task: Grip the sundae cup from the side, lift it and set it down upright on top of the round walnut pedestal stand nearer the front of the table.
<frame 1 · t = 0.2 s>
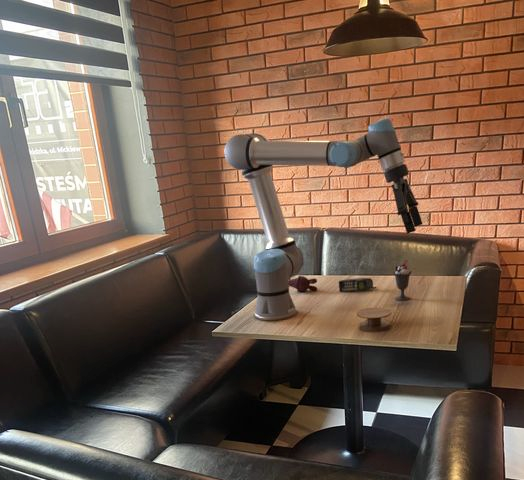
hand: (415, 228, 180), 28 cm above the table, tool tilted 20°, fingers open, 13 cm apart
sundae: (402, 299, 202), on the table
chocolate bunny: (301, 291, 228), on the table
mobile phone: (357, 290, 219), on the table
stand: (374, 327, 175), on the table
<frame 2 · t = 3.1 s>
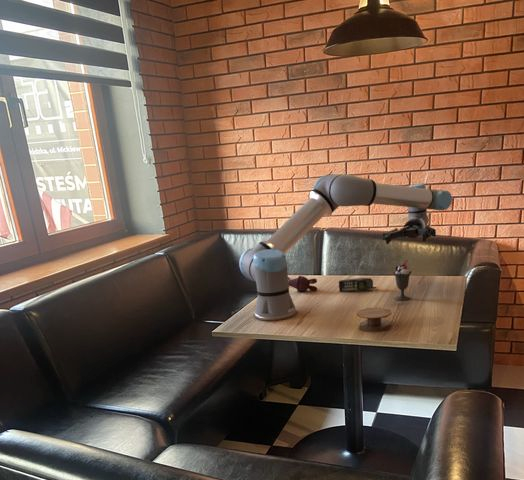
hand: (405, 239, 201), 21 cm above the table, tool horizontal, fingers open, 13 cm apart
nothing on the table moved.
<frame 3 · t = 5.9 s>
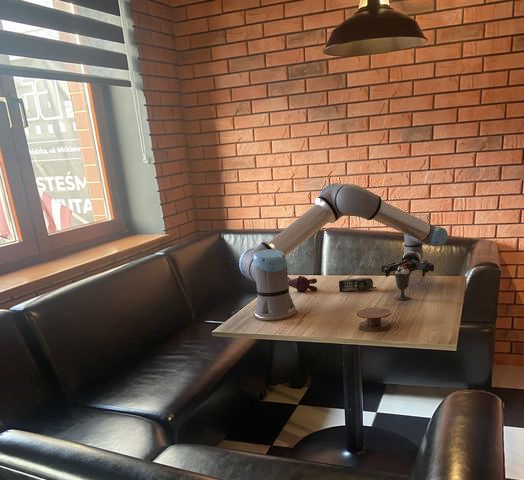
hand: (404, 273, 205), 8 cm above the table, tool horizontal, fingers open, 13 cm apart
nothing on the table moved.
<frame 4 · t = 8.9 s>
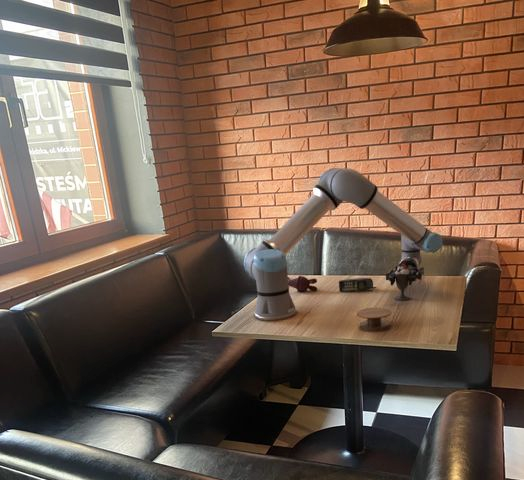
hand: (400, 281, 194), 8 cm above the table, tool horizontal, fingers closed on sundae, 6 cm apart
sundae: (402, 299, 202), on the table, touching gripper
everything else where it was.
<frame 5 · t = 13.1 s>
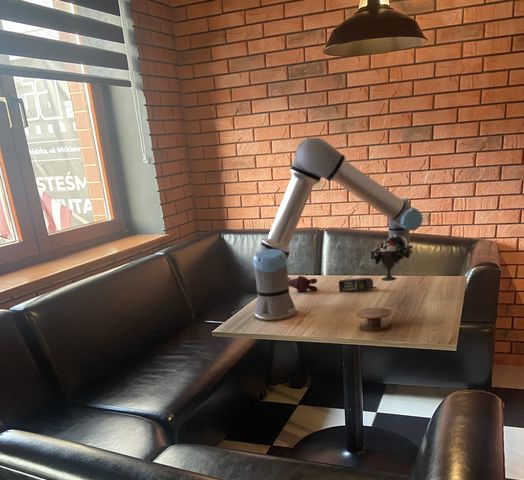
hand: (386, 259, 177), 20 cm above the table, tool horizontal, fingers closed on sundae, 6 cm apart
sundae: (389, 279, 184), point 12 cm above the table, touching gripper
everything else where it was.
when the fingers open (13 cm above the table, at t = 17.5 s): sundae stays where it is, resting on stand.
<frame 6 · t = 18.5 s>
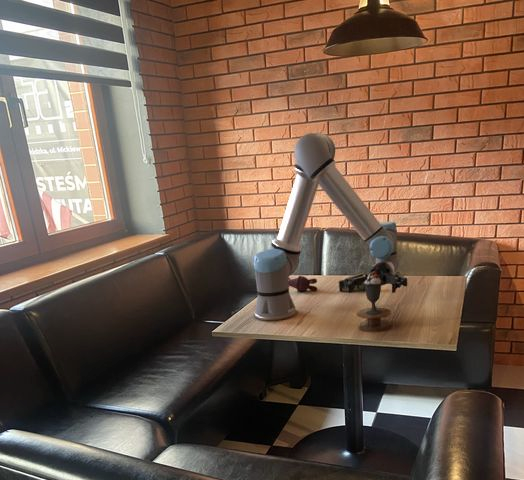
hand: (371, 288, 167), 14 cm above the table, tool horizontal, fingers open, 13 cm apart
sundae: (374, 313, 173), point 5 cm above the table, touching stand
everything else where it was.
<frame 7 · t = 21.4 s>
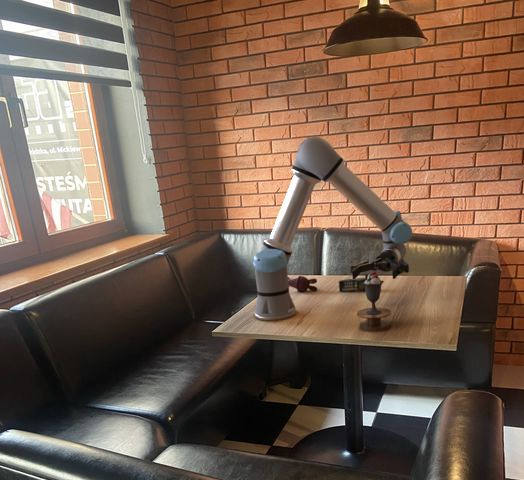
hand: (373, 275, 178), 15 cm above the table, tool horizontal, fingers open, 13 cm apart
nothing on the table moved.
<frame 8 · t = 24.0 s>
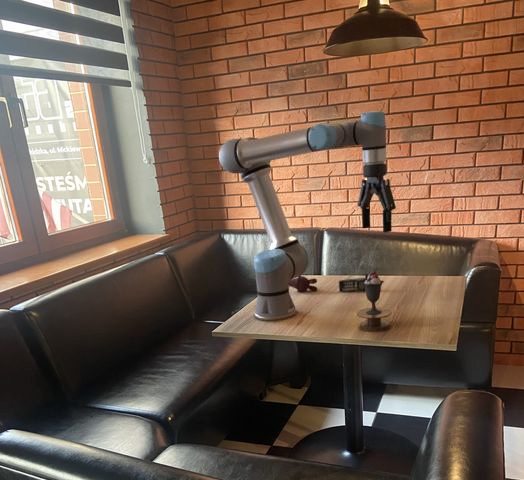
hand: (376, 229, 180), 29 cm above the table, tool pointing down, fingers open, 13 cm apart
nothing on the table moved.
at the end: sundae 0.1 cm off-centre on the stand, point 4.8 cm above the stand's base; sundae tilted 0°; the gripper is holding nothing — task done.
